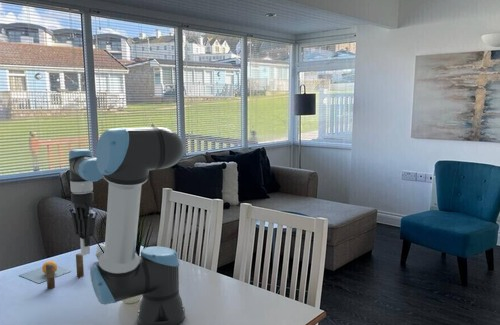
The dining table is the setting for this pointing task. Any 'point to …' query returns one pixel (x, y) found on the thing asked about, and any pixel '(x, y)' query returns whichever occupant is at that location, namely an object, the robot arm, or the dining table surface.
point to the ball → (49, 263)
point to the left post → (50, 276)
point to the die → (100, 250)
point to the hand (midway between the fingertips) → (85, 254)
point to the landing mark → (42, 274)
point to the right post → (79, 265)
